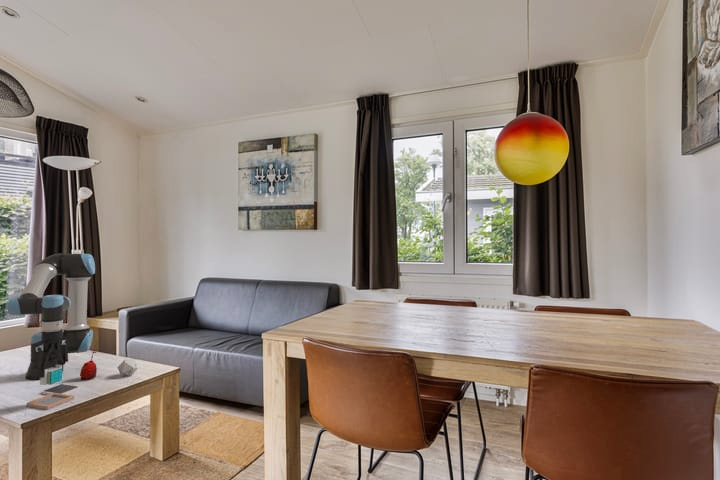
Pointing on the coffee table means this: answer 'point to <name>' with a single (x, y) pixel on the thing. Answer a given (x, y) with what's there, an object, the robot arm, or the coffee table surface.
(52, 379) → the puzzle toy
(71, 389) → the ink pad
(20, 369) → the coffee table surface
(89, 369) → the red clay folk toy
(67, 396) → the square tray
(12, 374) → the coffee table surface
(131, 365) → the die
